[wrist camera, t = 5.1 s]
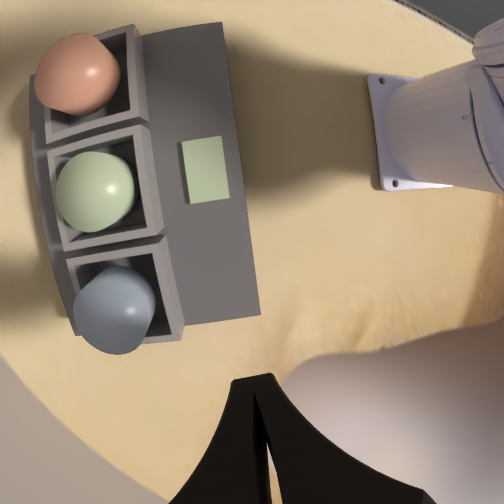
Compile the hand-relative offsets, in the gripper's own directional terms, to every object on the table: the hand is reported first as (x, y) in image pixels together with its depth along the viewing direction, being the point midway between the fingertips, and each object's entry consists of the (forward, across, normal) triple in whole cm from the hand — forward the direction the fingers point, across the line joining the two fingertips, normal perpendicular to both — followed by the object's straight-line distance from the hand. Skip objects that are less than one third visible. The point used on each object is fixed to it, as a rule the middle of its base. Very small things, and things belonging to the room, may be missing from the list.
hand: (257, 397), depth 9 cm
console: (+10, +5, -8) cm, 14 cm away
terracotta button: (+6, +5, -13) cm, 16 cm away
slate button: (+6, +6, -2) cm, 9 cm away
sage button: (+7, +6, -8) cm, 12 cm away
